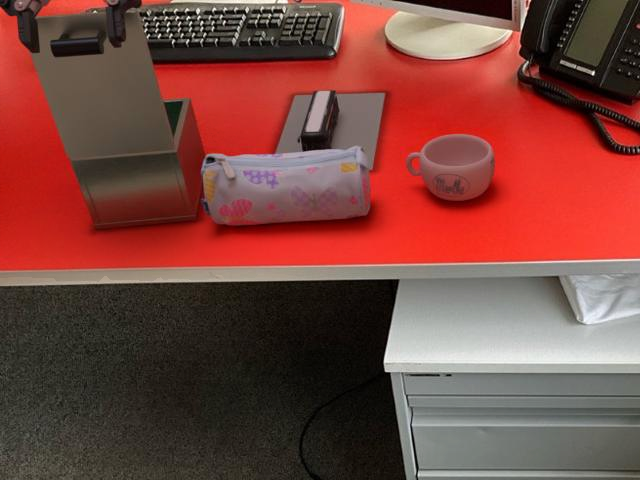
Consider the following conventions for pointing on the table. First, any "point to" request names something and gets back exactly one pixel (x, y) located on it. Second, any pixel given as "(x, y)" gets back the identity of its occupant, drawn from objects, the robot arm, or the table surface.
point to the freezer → (147, 178)
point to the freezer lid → (101, 86)
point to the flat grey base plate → (333, 123)
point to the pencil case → (286, 186)
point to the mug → (455, 166)
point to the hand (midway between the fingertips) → (74, 47)
